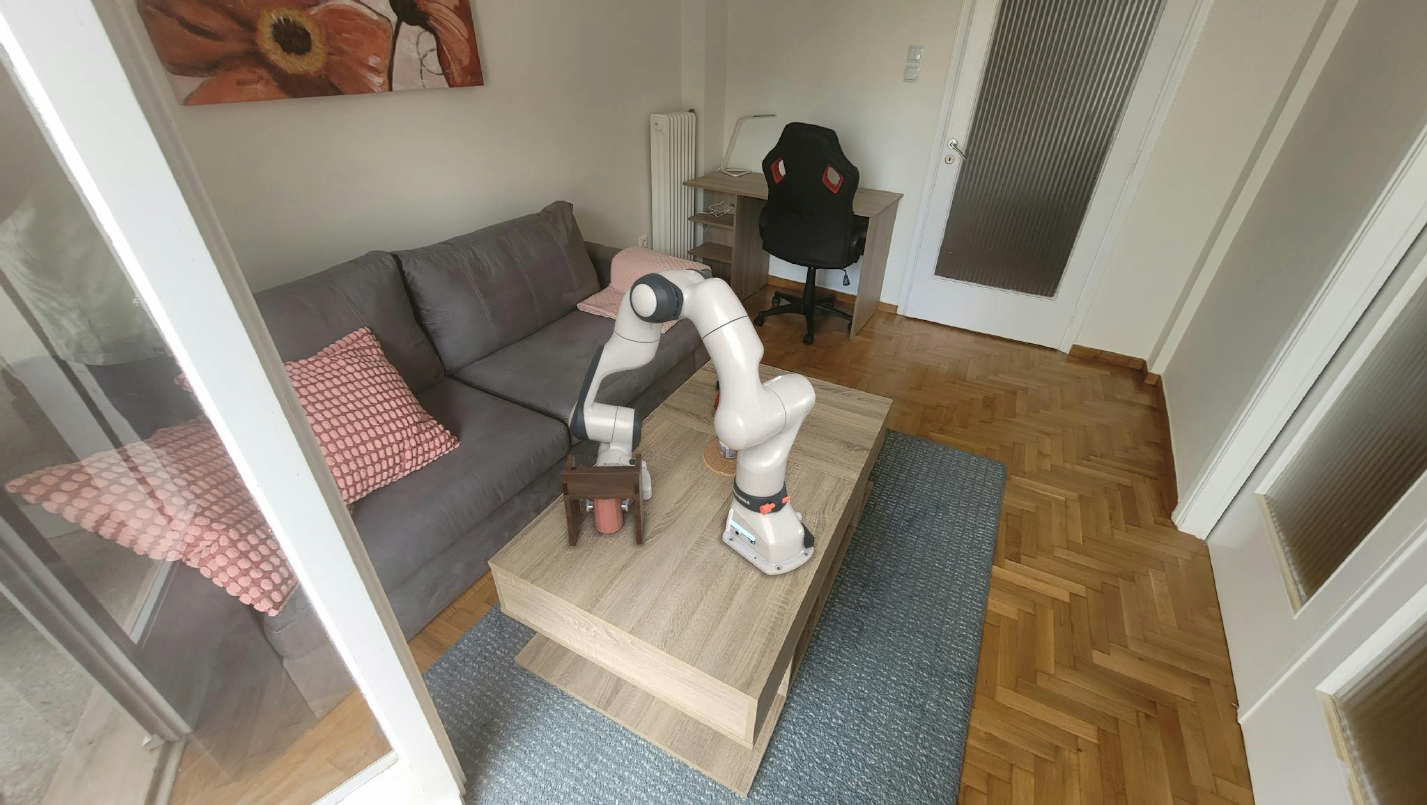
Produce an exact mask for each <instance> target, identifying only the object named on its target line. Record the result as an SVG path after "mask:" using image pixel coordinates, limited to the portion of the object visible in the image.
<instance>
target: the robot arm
mask: <svg viewBox="0 0 1427 805" xmlns="http://www.w3.org/2000/svg"><path fill="white" fill-rule="evenodd" d="M686 319H688V320H690V321H691V322H692V323H693V325H694V327H695V328H696V330H697V333H698V335H699V337H700V339H701V341H702V343H703V345H704V347H705V349H706V352H707V353H708V355H709V358H710V360H711V362H712V364H713V367H714V369H715V372H717V373H716V376H717V379H718V380H719V388H720V390H719V391H720V398H719V404H718V408H717V410H716V413H715V412H714V416H713V429H714V432H715V434H716V436H717V438H718V439H719V441H720V442H721V443H722V444H723V445H724V446H726V447H727V448H729V449H731V450H734V451H737V454H736V465H735V466H736V467H735V475H734V477H733V482H732V495H733V497H732V501H731V504H730V507H729V511H728V515H727V518H726V521H725V529H724V531H723V533H722V537H721V541H722V542H723V543H725V544H726V545H727V546H728V547H730V548H731V549H732V550H734V551H735V552H736V553H737V554H739V555H740V556H741V557H742V558H744V559H746V560H747V561H748V562H750V563H751V564H752V565H754V566H755V567H756V568H758V569H759V570H760V571H761V572H763V573H764V574H765V575H767V576H777V575H784V574H786V573H788V572H789V573H790V572H791V571H794V570H795V569H798V568H799V567H801V566H803V565H804V564H805V563H807V562H808V561H809V560H810V559H811V558H812V556H813V555H814V551H815V548H814V545H815V537H814V535H813V533H812V532H811V531H810V530H809V528H807V526H806V525H805V524H804V523H803V522H801V521H802V519H803V515H802V514H801V512H800V511H795V510H794V508H793V506H792V504H791V497H792V495H788V489H787V485H786V480H785V476H786V471H787V464H788V463H787V462H788V460H789V459H788V458H789V455H790V452H791V449H792V447H793V445H794V442H795V440H796V438H797V436H798V433H799V431H800V429H801V426H802V425H803V423H804V421H805V419H806V418H807V417H808V415H809V414H810V412H811V411H812V410H813V408H814V406H815V404H816V393H815V389H814V386H813V385H812V383H811V382H810V380H808V379H807V378H806V377H805V376H804V375H802V374H799V373H796V372H795V373H786V374H781V375H776V376H774V377H772V378H770V379H767V380H766V381H764V382H761V379H760V372H759V367H760V363H761V361H762V360H763V357H764V354H765V353H764V352H765V349H764V345H763V342H762V341H761V338H760V337H759V334H758V333H757V331H756V329H755V327H754V324H753V323H752V321H751V319H750V316H749V315H748V313H747V311H746V309H745V307H744V306H743V304H742V302H741V300H740V299H739V298H738V296H737V295H736V293H735V291H734V290H733V289H732V287H731V286H730V285H729V284H728V283H727V282H726V281H725V280H724V279H722V278H719V277H711V276H710V275H709V274H708V273H706V272H705V271H703V270H700V269H697V268H686V269H673V268H672V269H665V270H664V269H663V270H660V271H657V272H649V273H647V274H644V275H642V276H640V277H638V278H637V279H636V280H635V281H634V282H633V283H632V285H631V287H630V288H628V289H627V290H626V291H625V292H624V294H623V295H622V299H621V301H620V304H619V306H618V310H617V314H616V317H615V321H614V325H613V326H614V327H613V332H612V335H611V337H610V338H609V340H608V341H607V342H606V343H605V344H601V345H599V346H598V347H597V348H596V350H595V352H594V354H593V356H592V359H591V361H590V364H589V366H588V368H587V371H586V374H585V376H584V380H583V382H582V385H581V388H580V391H579V394H578V397H577V399H576V402H575V403H574V405H573V407H572V408H571V410H570V413H569V416H568V421H567V422H568V423H567V424H568V430H569V432H570V433H571V434H572V436H573V437H574V438H575V439H576V440H578V441H596V442H599V447H598V450H597V452H598V453H597V458H596V461H595V466H635V461H636V458H633V457H632V456H633V452H635V451H636V450H637V449H638V447H639V446H640V445H641V440H642V431H643V430H642V429H643V418H642V416H641V414H640V413H639V411H638V410H637V409H636V408H631V407H626V406H621V405H612V404H607V403H600V402H597V401H595V400H596V396H597V394H598V392H599V388H600V385H601V383H602V381H603V380H604V378H606V377H607V376H610V375H612V374H616V373H621V372H628V371H633V370H637V369H640V368H642V367H645V366H646V365H648V364H649V363H651V361H652V360H654V359H655V356H656V354H657V351H658V348H659V345H660V341H661V335H662V331H663V330H662V329H663V325H664V323H667V322H674V321H681V320H686ZM718 380H717V381H718ZM642 480H643V501H648V500H650V499H651V498H652V495H653V494H652V490H653V489H652V478H651V474H650V472H649V470H648V465H647V462H646V460H643V459H642ZM579 500H580V502H583V503H584V505H585V508H586V512H593V502H592V499H579ZM621 501H622V504H621V508H622V512H623V511H624V512H628V511H629V507H630V506H631V505H632V504H633V503H634V502H635V499H621Z"/></svg>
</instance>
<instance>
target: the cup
mask: <svg viewBox="0 0 1427 805" xmlns="http://www.w3.org/2000/svg"><path fill="white" fill-rule="evenodd" d="M622 501H623V500H621V499H592V502H593V511H592V512H593V519H594V521H593V522H594V527H595V529H596V530H597V531H598V532H600V533H601V534H607V535H609V534H614V533H617V532H618V531H619V530H621V528H622V527H623V526H624V525H623V524H624V518H623V517H624V516H623V511H622V508H621V504H622Z"/></svg>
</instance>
